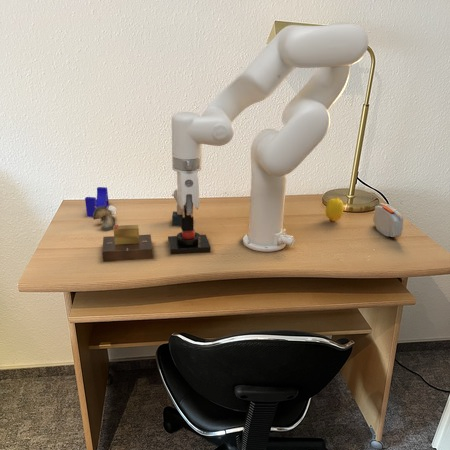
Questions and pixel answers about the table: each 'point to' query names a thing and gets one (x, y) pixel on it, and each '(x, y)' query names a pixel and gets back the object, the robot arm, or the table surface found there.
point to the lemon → (334, 209)
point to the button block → (188, 244)
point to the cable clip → (97, 201)
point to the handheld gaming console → (388, 220)
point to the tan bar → (126, 234)
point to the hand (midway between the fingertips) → (187, 229)
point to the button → (188, 234)
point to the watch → (177, 215)
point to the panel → (127, 249)
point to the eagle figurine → (105, 216)
